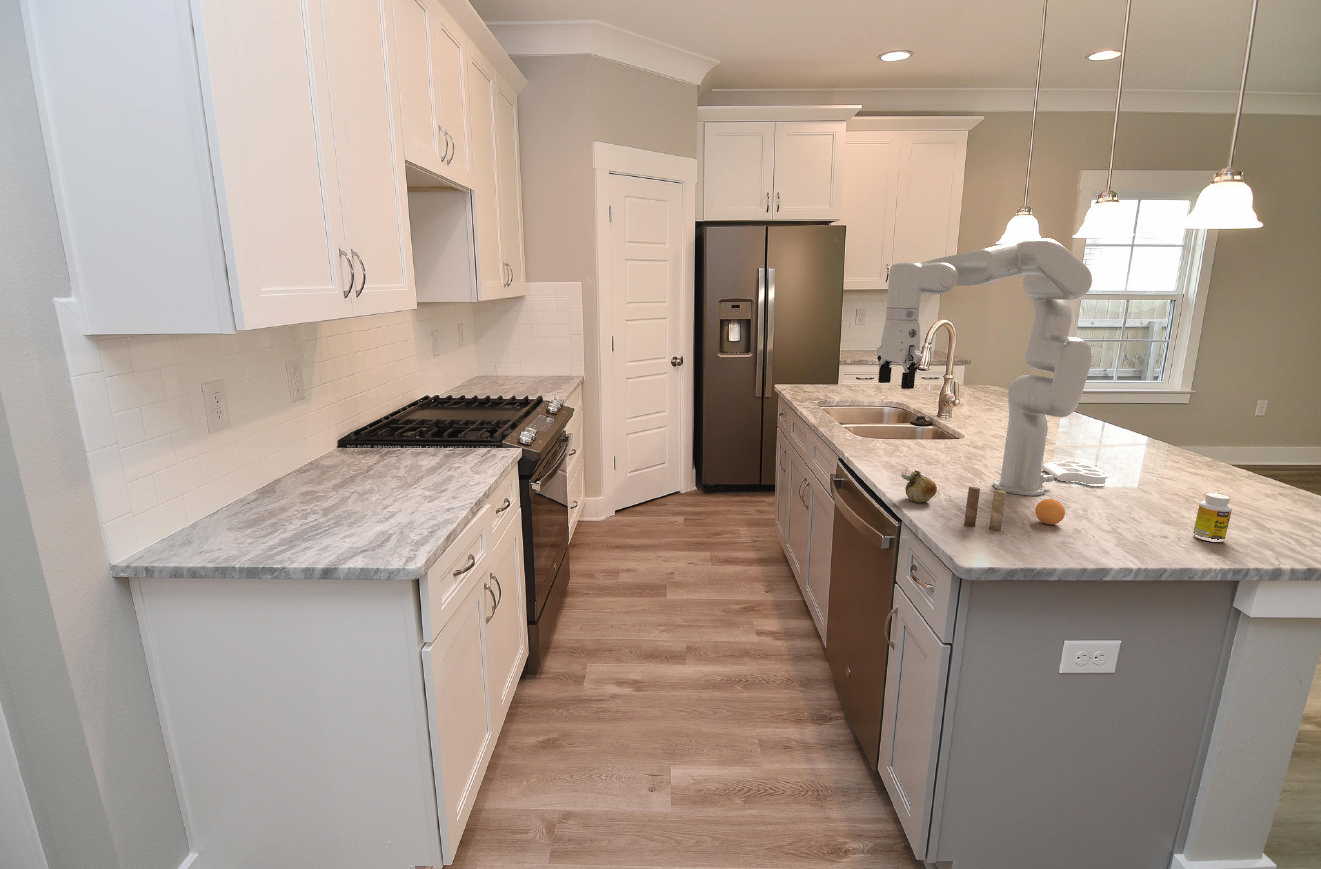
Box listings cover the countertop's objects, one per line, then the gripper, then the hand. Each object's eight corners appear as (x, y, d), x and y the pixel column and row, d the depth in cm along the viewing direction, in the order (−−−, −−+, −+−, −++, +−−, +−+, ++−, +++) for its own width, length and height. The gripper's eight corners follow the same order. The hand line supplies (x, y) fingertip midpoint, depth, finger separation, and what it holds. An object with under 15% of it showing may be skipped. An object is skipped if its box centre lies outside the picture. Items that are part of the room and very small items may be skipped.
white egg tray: (1036, 469, 201) (1087, 471, 199) (1062, 486, 184) (1118, 489, 182) (1038, 458, 200) (1089, 461, 198) (1064, 475, 183) (1120, 477, 181)
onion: (916, 507, 163) (919, 477, 161) (896, 497, 171) (899, 468, 169) (941, 505, 165) (945, 475, 163) (921, 495, 172) (924, 466, 171)
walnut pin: (970, 522, 153) (975, 486, 151) (977, 526, 151) (982, 489, 149) (961, 523, 152) (966, 487, 150) (968, 527, 150) (973, 490, 148)
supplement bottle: (1211, 544, 142) (1221, 500, 139) (1186, 535, 147) (1195, 492, 145) (1231, 542, 143) (1241, 498, 141) (1205, 533, 148) (1214, 491, 146)
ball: (1048, 518, 157) (1051, 494, 155) (1069, 527, 151) (1073, 502, 150) (1027, 520, 155) (1031, 496, 154) (1048, 529, 149) (1051, 504, 148)
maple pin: (995, 526, 151) (1000, 489, 149) (1003, 530, 148) (1008, 492, 146) (986, 527, 150) (991, 490, 148) (994, 531, 148) (999, 493, 146)
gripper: (938, 317, 149) (930, 390, 153) (894, 314, 165) (888, 380, 169) (910, 317, 147) (903, 391, 151) (868, 314, 164) (863, 381, 168)
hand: (895, 385), depth 160 cm, fingers open, 9 cm apart
